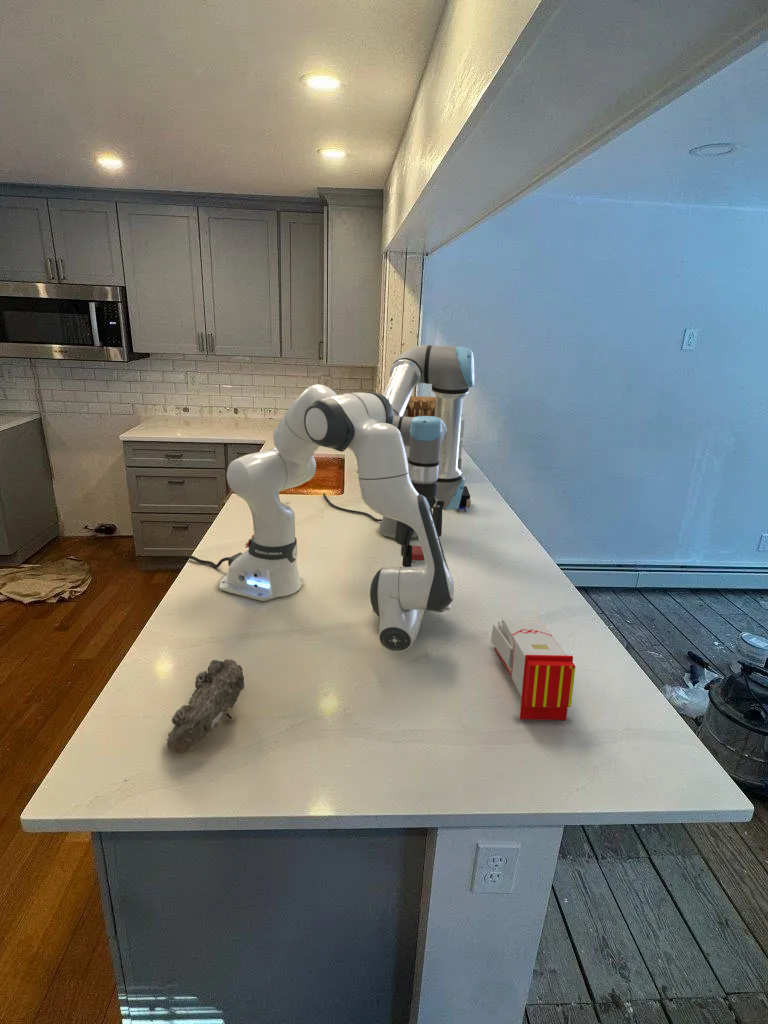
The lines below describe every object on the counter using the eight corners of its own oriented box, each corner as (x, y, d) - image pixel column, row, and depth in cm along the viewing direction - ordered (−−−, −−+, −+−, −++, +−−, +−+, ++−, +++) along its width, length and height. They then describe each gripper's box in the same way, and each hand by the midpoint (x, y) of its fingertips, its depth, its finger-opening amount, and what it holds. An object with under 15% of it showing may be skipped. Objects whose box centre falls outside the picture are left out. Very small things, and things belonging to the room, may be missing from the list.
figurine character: (470, 516, 223) (465, 500, 237) (473, 499, 220) (467, 484, 233) (453, 516, 223) (449, 500, 236) (455, 498, 220) (451, 483, 233)
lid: (433, 558, 146) (433, 552, 146) (413, 562, 143) (413, 556, 143) (421, 549, 151) (421, 544, 151) (401, 553, 148) (401, 547, 148)
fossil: (192, 660, 117) (244, 628, 112) (224, 691, 120) (276, 661, 115) (142, 746, 98) (202, 712, 93) (182, 779, 101) (242, 748, 96)
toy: (537, 603, 136) (584, 662, 106) (532, 655, 138) (577, 726, 109) (487, 602, 135) (520, 661, 106) (483, 654, 138) (514, 725, 109)
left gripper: (450, 600, 135) (455, 575, 148) (367, 588, 139) (379, 565, 151) (448, 623, 137) (453, 596, 150) (366, 611, 141) (378, 586, 154)
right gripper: (442, 471, 148) (436, 552, 156) (382, 480, 138) (378, 566, 146) (461, 479, 142) (453, 563, 150) (399, 489, 132) (395, 578, 140)
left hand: (415, 581), depth 151 cm, fingers closed on jar, 5 cm apart
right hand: (416, 564), depth 148 cm, fingers closed on lid, 6 cm apart
